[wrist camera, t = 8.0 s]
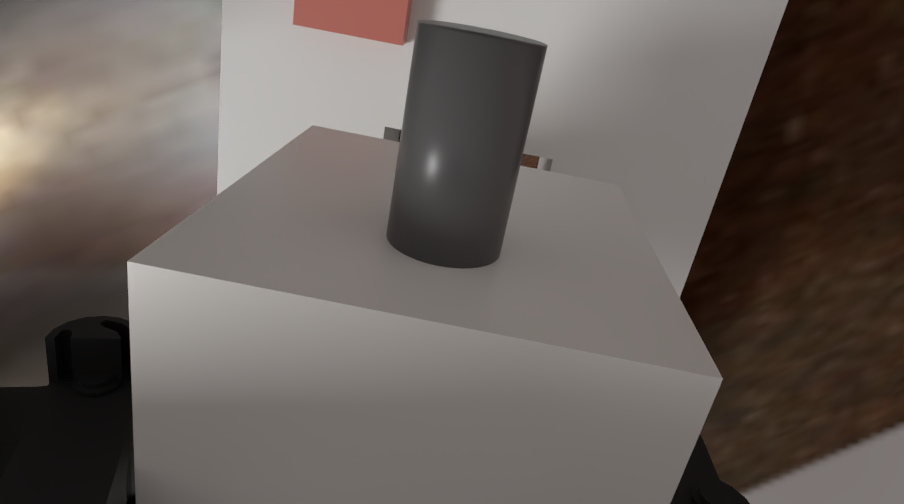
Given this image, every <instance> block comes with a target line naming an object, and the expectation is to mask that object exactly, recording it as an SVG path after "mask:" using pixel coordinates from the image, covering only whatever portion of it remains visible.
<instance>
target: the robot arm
mask: <svg viewBox="0 0 904 504" xmlns="http://www.w3.org/2000/svg"><path fill="white" fill-rule="evenodd" d="M45 342H46V353H47V363H48V373H49V385H48V386H39V387H0V504H136V496H135V468H134V440H133V412H132V384H131V356H130V328H129V321H127V320H125V319H122V318H117V317H108V316H97V317H85V318H81V319H77V320H73V321H69V322H67V323H65V324H63V325H61V326H59V327H57V328H55V329H53V330H52V331H51V332H50V333H49V334H48V335H47V336H46V337H45ZM670 504H749V502H748V501H747V499H746V498H745V497H744V496H742V495H741V494H740V493H739V492H737V491H736V490H735V489H734V488H733V487H731V486H729V485H727V484H726V483H724V482H722V481H720V480H719V477H718V475H717V472H716V470H715V468H714V465H713V463H712V461H711V458H710V456H709V454H708V451H707V449H706V446H705V444H704V442H703V439H702V437H701V435H699V437H698V439H697V442H696V444H695V446H694V449H693V451H692V453H691V456H690V458H689V460H688V463H687V465H686V468H685V470H684V472H683V475H682V477H681V479H680V482H679V484H678V487H677V489H676V491H675V494H674V496H673V498H672V501H671V503H670Z"/></svg>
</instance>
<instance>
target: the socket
mask: <svg viewBox="0 0 904 504" xmlns="http://www.w3.org/2000/svg"><path fill="white" fill-rule="evenodd" d="M787 3H788V0H223V4H222V39H221V74H220V110H219V145H218V181H217V195H218V194H220V193H221V192H222V191H224V190H225V189H226V188H228V187H229V186H230V185H232V184H233V183H235V182H236V181H237V180H239V179H240V178H241V177H243V176H244V175H245V174H247V173H248V172H250V171H251V170H252V169H254V168H255V167H256V166H258V165H259V164H260V163H262V162H263V161H264V160H266V159H267V158H269V157H270V156H271V155H273V154H274V153H275V152H277V151H278V150H279V149H281V148H282V147H284V146H285V145H286V144H288V143H289V142H290V141H292V140H293V139H294V138H296V137H297V136H299V135H300V134H301V133H303V132H304V131H305V130H307V129H308V128H309V127H311V126H312V125H315V126H320V127H325V128H330V129H335V130H340V131H345V132H350V133H355V134H361V135H366V136H371V137H376V138H381V139H386V140H391V141H396V142H398V141H399V134H400V130H402V123H403V116H404V109H405V102H406V96H407V89H408V82H409V75H410V68H411V61H412V54H413V48H414V41H415V34H416V27H417V21H418V20H436V21H444V22H451V23H458V24H464V25H470V26H476V27H481V28H486V29H491V30H496V31H501V32H505V33H510V34H514V35H518V36H522V37H526V38H530V39H533V40H537V41H540V42H542V43H545V44H547V45H548V46H547V51H546V55H545V60H544V64H543V68H542V73H541V77H540V82H539V86H538V90H537V95H536V99H535V103H534V108H533V112H532V117H531V121H530V125H529V130H528V134H527V138H526V143H525V147H524V152H523V154H528V155H533V156H539V157H540V158H539V163H538V167H537V169H540V170H545V171H550V172H555V173H560V174H565V175H570V176H575V177H580V178H586V179H591V180H596V181H601V182H606V183H611V184H616V185H619V186H620V188H621V190H622V192H623V194H624V196H625V198H626V199H627V201H628V203H629V205H630V207H631V209H632V211H633V212H634V214H635V216H636V218H637V220H638V222H639V224H640V225H641V227H642V229H643V231H644V233H645V235H646V237H647V238H648V240H649V242H650V244H651V246H652V248H653V250H654V251H655V253H656V255H657V257H658V259H659V261H660V263H661V264H662V266H663V268H664V270H665V272H666V274H667V276H668V277H669V279H670V281H671V283H672V285H673V287H674V289H675V290H676V292H677V294H678V296H679V298H680V296H681V293H682V290H683V288H684V285H685V282H686V279H687V277H688V274H689V271H690V268H691V266H692V263H693V260H694V257H695V255H696V252H697V249H698V246H699V244H700V241H701V238H702V235H703V233H704V230H705V227H706V225H707V222H708V219H709V216H710V214H711V211H712V208H713V205H714V203H715V200H716V197H717V194H718V192H719V189H720V186H721V183H722V181H723V178H724V175H725V172H726V170H727V167H728V164H729V162H730V159H731V156H732V153H733V151H734V148H735V145H736V142H737V140H738V137H739V134H740V131H741V129H742V126H743V123H744V120H745V118H746V115H747V112H748V109H749V107H750V104H751V101H752V99H753V96H754V93H755V90H756V88H757V85H758V82H759V79H760V77H761V74H762V71H763V68H764V66H765V63H766V60H767V57H768V55H769V52H770V49H771V46H772V44H773V41H774V38H775V35H776V33H777V30H778V27H779V25H780V22H781V19H782V16H783V14H784V11H785V8H786V5H787Z"/></svg>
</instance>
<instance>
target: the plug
mask: <svg viewBox="0 0 904 504" xmlns="http://www.w3.org/2000/svg"><path fill="white" fill-rule="evenodd" d="M547 46H548V45H547V44H545V43H542V42H540V41H537V40H533V39H530V38H526V37H522V36H518V35H514V34H510V33H505V32H501V31H496V30H491V29H486V28H481V27H476V26H470V25H464V24H458V23H451V22H444V21H436V20H418V21H417V27H416V34H415V41H414V48H413V54H412V61H411V68H410V75H409V82H408V89H407V96H406V102H405V109H404V116H403V123H402V130H401V137H400V142H396V141H391V140H386V139H381V138H376V137H371V136H366V135H361V134H355V133H350V132H345V131H340V130H335V129H330V128H325V127H320V126H315V125H312V126H311V127H309V128H308V129H307V130H305V131H304V132H303V133H301V134H300V135H299V136H297V137H296V138H294V139H293V140H292V141H290V142H289V143H288V144H286V145H285V146H284V147H282V148H281V149H279V150H278V151H277V152H275V153H274V154H273V155H271V156H270V157H269V158H267V159H266V160H264V161H263V162H262V163H260V164H259V165H258V166H256V167H255V168H254V169H252V170H251V171H250V172H248V173H247V174H245V175H244V176H243V177H241V178H240V179H239V180H237V181H236V182H235V183H233V184H232V185H230V186H229V187H228V188H226V189H225V190H224V191H222V192H221V193H220V194H218V195H217V196H215V197H214V198H213V199H211V200H210V201H209V202H207V203H206V204H205V205H203V206H202V207H200V208H199V209H198V210H196V211H195V212H194V213H192V214H191V215H190V216H188V217H187V218H185V219H184V220H183V221H181V222H180V223H179V224H177V225H176V226H175V227H173V228H172V229H170V230H169V231H168V232H166V233H165V234H164V235H162V236H161V237H160V238H158V239H157V240H155V241H154V242H153V243H151V244H150V245H149V246H147V247H146V248H145V249H143V250H142V251H141V252H139V253H138V254H136V255H135V256H134V257H132V258H131V259H130V260H128V261H127V272H128V300H129V328H130V356H131V384H132V412H133V440H134V468H135V496H136V504H670V503H671V501H672V498H673V496H674V494H675V491H676V489H677V487H678V484H679V482H680V479H681V477H682V475H683V472H684V470H685V468H686V465H687V463H688V460H689V458H690V456H691V453H692V451H693V449H694V446H695V444H696V442H697V439H698V437H699V434H700V432H701V430H702V427H703V425H704V423H705V420H706V418H707V416H708V413H709V411H710V408H711V406H712V404H713V401H714V399H715V397H716V394H717V392H718V390H719V387H720V385H721V382H722V380H723V378H722V376H721V374H720V372H719V370H718V368H717V367H716V365H715V363H714V361H713V359H712V357H711V355H710V354H709V352H708V350H707V348H706V346H705V344H704V342H703V341H702V339H701V337H700V335H699V333H698V331H697V329H696V328H695V326H694V324H693V322H692V320H691V318H690V316H689V315H688V313H687V311H686V309H685V307H684V305H683V303H682V302H681V300H680V298H679V296H678V294H677V292H676V290H675V289H674V287H673V285H672V283H671V281H670V279H669V277H668V276H667V274H666V272H665V270H664V268H663V266H662V264H661V263H660V261H659V259H658V257H657V255H656V253H655V251H654V250H653V248H652V246H651V244H650V242H649V240H648V238H647V237H646V235H645V233H644V231H643V229H642V227H641V225H640V224H639V222H638V220H637V218H636V216H635V214H634V212H633V211H632V209H631V207H630V205H629V203H628V201H627V199H626V198H625V196H624V194H623V192H622V190H621V188H620V186H619V185H616V184H611V183H606V182H601V181H596V180H591V179H586V178H580V177H575V176H570V175H565V174H560V173H555V172H550V171H545V170H540V169H534V168H529V167H524V166H520V165H521V160H522V156H523V152H524V147H525V143H526V138H527V134H528V130H529V125H530V121H531V117H532V112H533V108H534V103H535V99H536V95H537V90H538V86H539V82H540V77H541V73H542V68H543V64H544V60H545V55H546V51H547Z"/></svg>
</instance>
